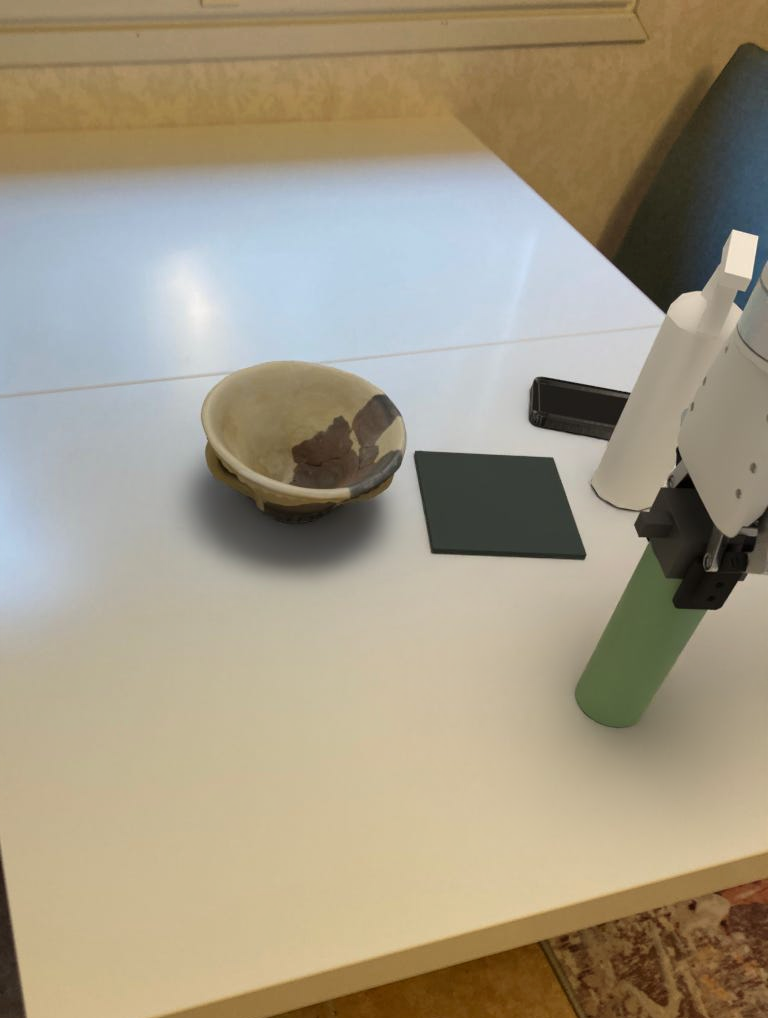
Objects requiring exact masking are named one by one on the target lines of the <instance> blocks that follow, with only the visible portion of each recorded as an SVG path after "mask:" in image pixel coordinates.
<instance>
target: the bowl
mask: <svg viewBox="0 0 768 1018" xmlns="http://www.w3.org/2000/svg"><path fill="white" fill-rule="evenodd" d="M200 421H201V425H202V429H203V431H204V433H205V437H206V440H207V442H206V444H205V449H204V457H205V461H206V465H207V468H208V470H209V472H210V474H211V475H213V477H214V478H215V479H216V480H218V481H219V482H221V483H222V484H224V485H226V486H228V487H229V488H231V489H233V490H234V491H237V492H239V493H240V494H242V495H244V496H247V497H249V498H251V500H253V501H255V502H256V503H255V504H256V507H257V508H258V509H259V510H260V511H261V512H263V513H264V515H265V516H268V517H270V518H272V519H274V520H276V521H277V520H278V521H280V522H283V523H287V524H288V523H290V524H300V523H301V524H303V523H306V522H314V521H316V520H318V519H321V518H323V517H325V516H326V515H327V514H329V513H331V512H333V511H334V510H335V508H336V507H337V506H340V505H344V504H351V503H352V504H353V503H357V502H362V501H365V500H370V499H374V498H376V497H377V496H379V495H381V494H382V493H384V492H385V491H386V490H387V489H388V488H389V487H390V486H391V485H392V482H393V479H394V477H395V473H396V472H397V471H399V470H400V468H401V466H402V465H403V464H402V463H403V460H404V457H405V453H406V449H407V438H408V437H407V430H406V429H407V428H406V424H405V421H404V418H403V415H402V413H401V412H400V410H399V409H398V408H397V406H396V405H395V403H394V402H393V401H392V400H391V398H390V397H389V396H388V395H387V394H386V393H385V392H384V391H383V390H382V389H381V388H379V387H378V386H376V385H375V384H373V383H371V382H370V381H368V380H366V379H365V378H363V377H361V376H359V375H357V374H355V373H352V372H348V371H345V370H343V369H340V368H337V367H333V366H329V365H324V364H318V363H313V362H308V361H302V360H272V361H266V362H262V363H259V364H254V365H251V366H249V367H245V368H242V369H239V370H237V371H234V372H232V373H231V374H229V375H227V376H225V377H224V378H222V379H221V380H220V381H218V382H217V383H216V384H215V385H214V386H213V387H212V388H211V389H210V390H209V392H208V393H207V395H206V396H205V398H204V400H203V402H202V405H201V410H200Z"/></svg>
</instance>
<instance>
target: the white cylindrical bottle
mask: <svg viewBox="0 0 768 1018" xmlns="http://www.w3.org/2000/svg"><path fill="white" fill-rule="evenodd" d="M758 242H759V235H755V234H751V233H748V232H744V231H740V230H737V229H731V232H730V233H729V236H728V238H727V240H726V241H725V244H724V245H723V247H722V252H721V259H720V263H719V264H718V265H717V267H716V268H715V271H714V272H713V274H712V275H711V277H710V278H709V280H708V281H707V283H706V284H705V285H704V287H703V289H702V290H695V291H694V290H693V291H689V292H684V293H682V294H680V295H679V296H678V297H677V298H676V299H675V300H674V301H672V303H670V306H669V307H668V309H667V312H666V313H665V316H664V319H663V321H662V323H661V324H660V325H661V326H660V327H659V329H658V331H657V334H656V336H655V339H654V341H653V343H652V346H651V347H650V350H649V352H648V354H647V355H646V359H645V361H644V363H643V365H642V368H641V370H640V372H639V375H638V377H637V379H636V381H635V383H634V385H633V387H632V389H631V392H630V393H631V394H630V396H629V399H628V401H627V403H626V405H625V407H624V410H623V412H622V414H621V416H620V419H619V421H618V423H617V425H616V427H615V430H614V432H613V434H612V436H611V439H609V441H608V443H607V446H606V448H605V450H604V452H603V454H602V456H601V458H600V461H599V463H598V465H597V468H596V470H595V472H594V475H593V477H592V479H591V482H590V484H591V486H592V487H593V489H594V490H595V492H596V493H597V495H598V497H599V498H601V499H603V500H605V501H606V502H608V503H610V504H611V505H613V506H615V507H616V508H620V509H627V510H632V511H643V510H645V509H648V508H651V507H652V505H653V503H654V501H655V499H656V496H657V494H658V492H659V490H660V488H661V487H665V485H666V484H667V478H668V476H669V475H670V473H671V472H672V471H673V470H674V469H675V467H676V448H677V447H678V434H679V431H680V426H681V415H682V412H683V411H684V410H685V409H687V408H689V407H690V405H691V403H692V401H693V399H694V397H695V395H696V393H697V391H698V389H699V387H700V385H701V383H702V381H703V380H704V378H705V376H706V374H707V372H708V371H709V369H710V367H711V365H712V364H713V362H714V360H715V358H716V357H717V355H718V353H719V352H720V350H721V348H722V347H723V345H724V344H725V342H726V341H727V339H728V337H729V336H730V334H731V333H732V331H733V330H734V328H735V326H736V324H737V322H738V320H739V319H740V316H741V314H742V312H743V310H742V309H741V308H740V307H739V306H738V304H736V303H735V299H736V296H737V293H738V291H741V292H744V293H745V292H746V291H747V289H748V287H749V285H750V283H751V282H752V280H753V273H754V266H755V260H756V255H757V254H756V253H757V248H758Z"/></svg>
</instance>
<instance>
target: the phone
mask: <svg viewBox="0 0 768 1018" xmlns="http://www.w3.org/2000/svg"><path fill="white" fill-rule="evenodd" d="M630 394H631V392H630V391H624V390H618V389H613V388H609V387H603V386H596V385H593V384H587V383H580V382H576V381H569V380H565V379H559V378H553V377H549V376H536V377H534V379H533V381H532V384H531V387H530V396H529V397H530V398H529V414H528V415H529V417H528V418H529V422H531V423H532V425H533V424H534V425H535V426H538V427H542V428H547V429H554V430H558V431H563V432H568V433H575V434H579V435H580V434H581V435H585V436H589V437H590V436H591V437H595V438H601V439H607V440H610V439H611V436H612V434H613V432H614V430H615V427H616V425H617V423H618V421H619V419H620V416H621V414H622V412H623V410H624V407H625V405H626V403H627V401H628V399H629V396H630Z"/></svg>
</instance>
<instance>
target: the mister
mask: <svg viewBox="0 0 768 1018" xmlns="http://www.w3.org/2000/svg"><path fill="white" fill-rule="evenodd" d="M639 511H640V512H639V513H638V515H637V517H636V520H635V521H634V523H633V527H634V530H635V532H636V534H637V536H638V538H646V539H647V538H649V539H650V541H649V542H647V545H646V547H645V549H644V551H643V553H642V555H641V557H640V559H639V561H638V563H637V565H636V567H635V568H634V571H633V573H632V575H631V577H630V579H629V581H628V583H627V585H626V587H625V588H624V590H623V592H622V594H621V597H619V598H620V599H619V600H618V602H617V604H616V606H615V608H614V610H613V612H612V614H611V617H610V618H609V620H608V623H607V624H606V626H605V628H604V630H603V632H602V634H601V637H600V638H599V639H598V642H597V644H596V646H595V648H594V649H593V652H592V654H591V656H590V658H589V660H588V662H587V663H586V665H585V668H584V670H583V672H582V674H581V675H580V677H579V680H578V681H577V683H576V686H575V691H574V693H575V694H574V695H575V698H576V699H575V700H576V701H577V704H578V705H579V707H580V709H581V710H582V711H583V712H584V714H586V715H587V717H589V718H591V719H592V720H593V721H595V722H597V723H599V724H600V725H603V726H606V727H611V728H628V727H630V726H633V725H636V723H638V722H639V721H640V720H641V719H642V717H643V716H644V714H645V712H646V711H647V709H649V707H650V705H651V703H652V701H653V699H654V698H655V696H656V695H657V693H658V691H659V690H660V688H661V687H662V685H663V684H664V682H665V680H666V678H667V677H668V675H669V673H670V672H671V671H672V669H673V667H674V665H675V664H676V662H677V661H678V659H679V657H680V656H681V654H682V653H683V651H684V650H685V648H686V646H687V644H688V642H689V641H690V639H691V638H692V636H693V635H694V634H695V632H696V630H697V628H698V626H699V625H700V623H701V621H702V620H703V619H704V617H705V615H706V613H707V612H708V610H697V609H677V608H675V607H674V604H673V602H672V599H673V597H674V595H675V593H676V591H677V590H678V588H679V586H680V584H681V582H682V581H683V579H684V577H685V575H686V574H687V572H688V570H689V568H690V566H691V565H692V563H693V561H694V560H695V559H698V558H704V555H705V552H706V548H707V545H708V542H709V539H710V536H711V533H712V530H713V527H714V522H713V521H712V519H711V517H710V515H709V513H708V511H707V509H706V507H705V505H704V503H703V501H702V499H701V497H700V495H699V493H698V491H697V489H688V488H667V486H666V487H665V486H664V487H661V488H660V490H659V492H658V494H657V496H656V499H655V501H654V503H653V505H652V506H651V507H650V509H649V511H646V510H645V511H643V510H639ZM745 537H746V536H735V537H733V538H730V539H729V542H728V545H727V548H726V551H725V552H741V549H742V546H743V543H744V540H745ZM748 575H749V573H743V574H742V576H741V578H740V579H739V581H738V582H744V581H745V580H746V579H747V576H748Z"/></svg>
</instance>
